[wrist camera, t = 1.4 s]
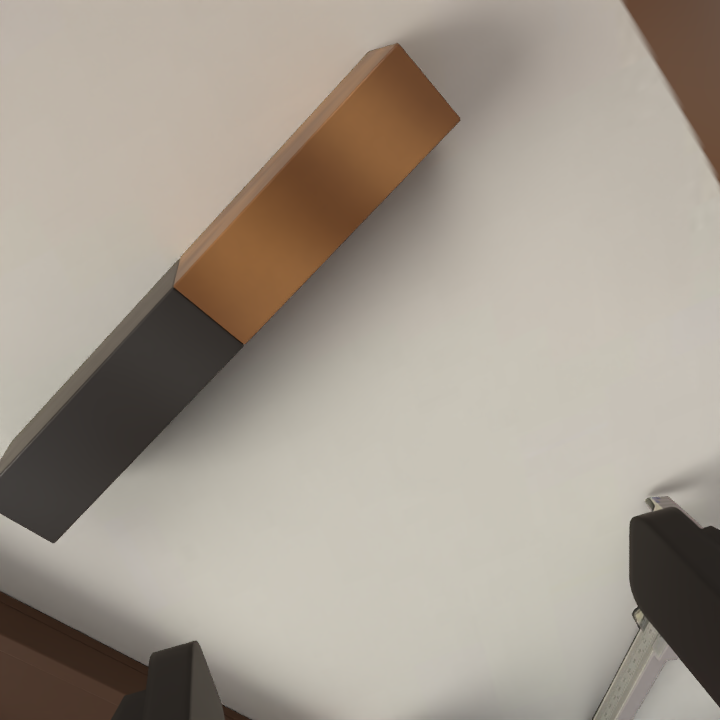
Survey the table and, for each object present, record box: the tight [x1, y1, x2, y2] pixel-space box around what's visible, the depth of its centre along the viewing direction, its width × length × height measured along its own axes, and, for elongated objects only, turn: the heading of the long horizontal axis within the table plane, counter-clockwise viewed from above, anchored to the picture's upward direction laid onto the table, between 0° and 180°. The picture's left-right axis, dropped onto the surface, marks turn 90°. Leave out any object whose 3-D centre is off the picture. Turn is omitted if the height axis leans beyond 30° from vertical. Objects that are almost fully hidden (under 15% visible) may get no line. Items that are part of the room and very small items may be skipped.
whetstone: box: [0, 43, 460, 543], centre depth 23 cm, size 20×3×4 cm, turn 134°
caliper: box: [592, 496, 703, 720], centre depth 34 cm, size 20×1×6 cm, turn 177°
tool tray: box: [0, 592, 251, 720], centre depth 29 cm, size 25×9×2 cm, turn 44°
